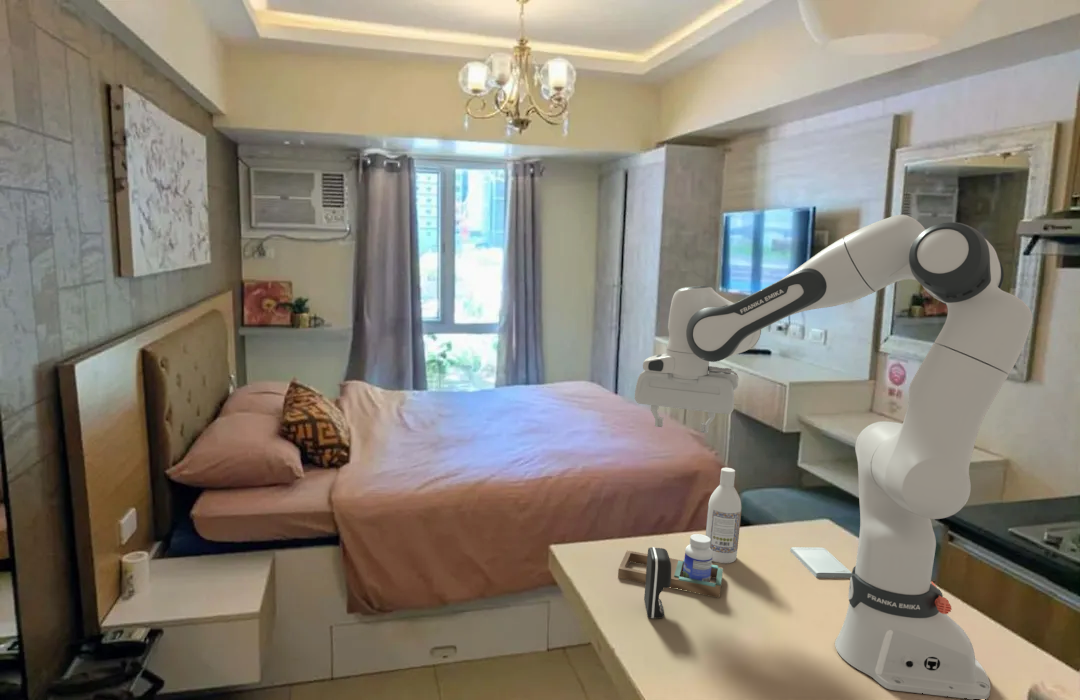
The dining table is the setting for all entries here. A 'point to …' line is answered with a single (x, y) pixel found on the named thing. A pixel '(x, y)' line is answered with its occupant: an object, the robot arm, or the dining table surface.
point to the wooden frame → (676, 573)
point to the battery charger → (656, 580)
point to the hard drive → (820, 562)
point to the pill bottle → (698, 558)
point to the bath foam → (724, 519)
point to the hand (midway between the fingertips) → (681, 429)
